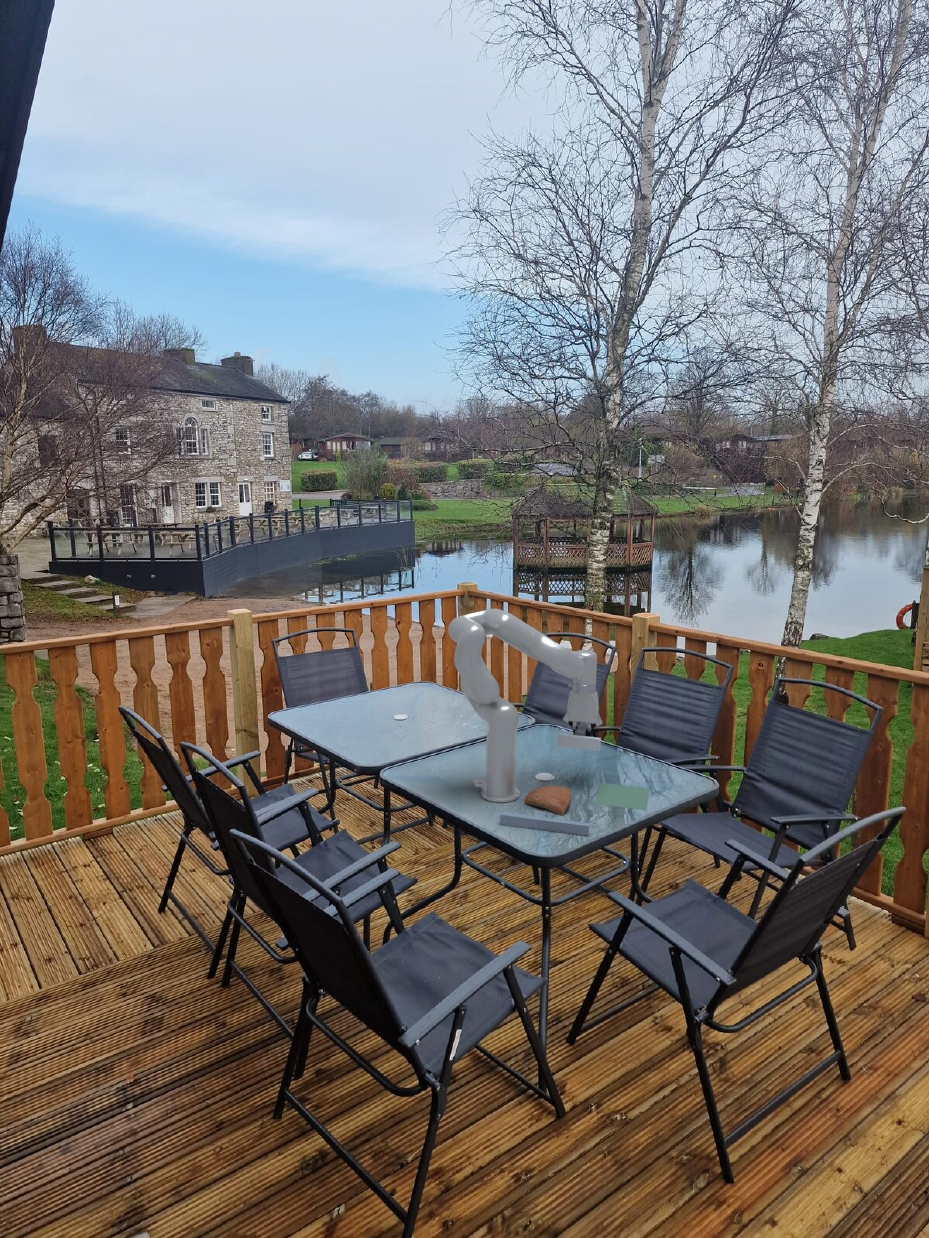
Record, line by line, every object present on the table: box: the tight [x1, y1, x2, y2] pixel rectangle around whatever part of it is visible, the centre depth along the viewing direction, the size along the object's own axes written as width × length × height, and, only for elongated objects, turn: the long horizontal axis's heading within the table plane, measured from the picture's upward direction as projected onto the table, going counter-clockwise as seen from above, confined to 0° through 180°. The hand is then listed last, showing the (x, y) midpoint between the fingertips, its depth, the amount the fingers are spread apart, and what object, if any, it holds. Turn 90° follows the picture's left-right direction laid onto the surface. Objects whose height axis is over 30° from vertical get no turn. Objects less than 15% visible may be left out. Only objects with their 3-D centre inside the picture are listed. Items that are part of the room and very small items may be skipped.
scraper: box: [556, 722, 602, 752], centre depth 252 cm, size 14×14×5 cm
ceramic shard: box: [523, 785, 572, 816], centre depth 239 cm, size 15×6×15 cm
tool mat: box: [593, 782, 650, 811], centre depth 244 cm, size 16×18×1 cm
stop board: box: [499, 811, 590, 836], centre depth 221 cm, size 26×2×3 cm, turn 74°
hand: (581, 740), depth 253 cm, fingers closed on scraper, 3 cm apart
